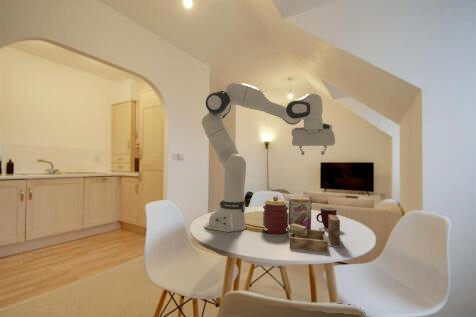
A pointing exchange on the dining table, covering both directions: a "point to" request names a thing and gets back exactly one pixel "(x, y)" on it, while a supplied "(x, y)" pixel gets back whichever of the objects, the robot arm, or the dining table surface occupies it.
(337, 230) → the tall brown cardboard box
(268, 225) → the canister
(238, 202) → the robot arm
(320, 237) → the rack
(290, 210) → the candy bar box
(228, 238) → the dining table surface
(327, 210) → the mug
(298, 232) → the offcut top
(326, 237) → the felt pad
